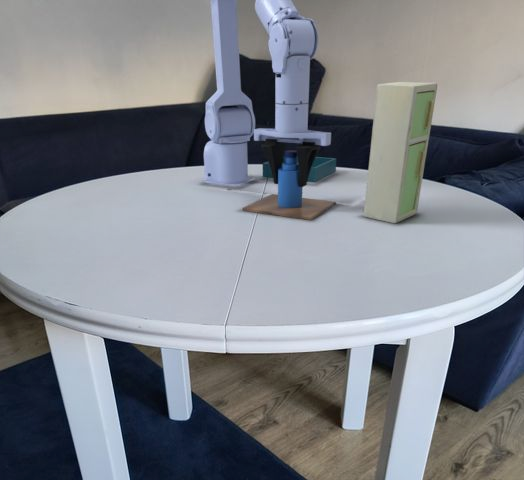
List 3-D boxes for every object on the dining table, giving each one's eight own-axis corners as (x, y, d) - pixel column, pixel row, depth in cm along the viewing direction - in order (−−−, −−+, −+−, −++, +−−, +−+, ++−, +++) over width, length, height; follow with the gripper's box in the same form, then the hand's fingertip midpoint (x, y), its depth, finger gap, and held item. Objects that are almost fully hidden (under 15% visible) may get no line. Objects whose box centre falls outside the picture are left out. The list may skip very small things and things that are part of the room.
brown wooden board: (242, 210, 91) (242, 208, 91) (272, 196, 100) (272, 194, 100) (310, 220, 85) (310, 217, 85) (335, 204, 94) (335, 201, 94)
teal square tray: (262, 179, 114) (262, 163, 112) (287, 169, 124) (287, 154, 122) (314, 185, 109) (314, 168, 107) (335, 174, 119) (336, 158, 117)
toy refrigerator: (399, 225, 82) (419, 85, 72) (362, 217, 87) (375, 83, 76) (421, 215, 87) (442, 82, 77) (385, 208, 92) (400, 81, 81)
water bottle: (273, 206, 92) (273, 152, 87) (285, 200, 95) (285, 148, 90) (295, 209, 90) (296, 154, 85) (306, 203, 93) (307, 150, 88)
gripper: (340, 102, 83) (334, 184, 90) (267, 100, 90) (267, 176, 97) (323, 106, 78) (318, 192, 85) (246, 103, 84) (248, 183, 91)
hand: (290, 184), depth 91 cm, fingers closed on water bottle, 4 cm apart
